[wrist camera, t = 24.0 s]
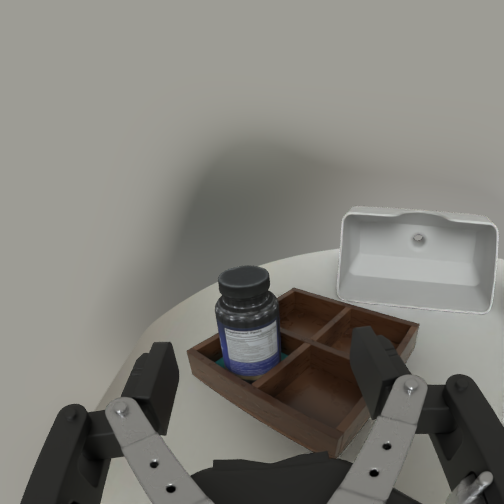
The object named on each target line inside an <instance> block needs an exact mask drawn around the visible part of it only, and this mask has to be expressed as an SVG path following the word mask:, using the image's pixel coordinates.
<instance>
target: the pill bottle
mask: <svg viewBox="0 0 504 504" xmlns="http://www.w3.org/2000/svg"><path fill="white" fill-rule="evenodd" d="M218 283H219V291H220V293H221V294H222V296H221V297H220V298H219V299H218V301H217V303H216V306H215V313H216V319H217V325H218V331H219V338H220V343H221V349H222V354H223V360H224V365H225V369H226V370H227V371H229V372H231V373H232V374H234V375H236V376H237V377H239V378H241V379H242V380H244V381H246V382H247V383H249V384H252V383H254V382H255V381H256V380H258V379H259V378H260V377H262V376H263V375H264V374H266V373H267V372H268V371H270V370H271V369H272V368H273V367H275V366H276V365H277V364H279V363H280V362H281V338H280V318H279V303H278V300H277V298H276V297H275V295H274V294H273V293H272V292H270V291H268V289H269V287H270V278H269V273H268V271H267V270H266V269H264V268H261V267H257V266H239V267H234V268H231V269H228V270H226V271H224V272H223V273H221V274H220V275H219V277H218Z"/></svg>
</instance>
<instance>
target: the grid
mask: <svg viewBox="0 0 504 504" xmlns="http://www.w3.org/2000/svg"><path fill="white" fill-rule="evenodd" d="M277 300H278V303H279V318H280V338H281V362H280V363H279V364H277V365H276V366H275V367H273V368H272V369H271V370H270V371H268V372H267V373H266V374H264V375H263V376H262V377H260V378H259V379H258V380H256V381H255V382H254V383H252V384H249V383H247V382H246V381H244V380H242V379H241V378H239V377H237V376H236V375H234V374H232V373H231V372H229V371H227V370H226V369H225V365H224V360H223V354H222V349H221V343H220V338H219V333H217V334H215V335H214V336H212V337H210V338H208V339H207V340H205V341H203V342H201V343H199V344H198V345H196V346H194V347H193V348H191V349H189V350H187V355H188V358H189V362H190V366H191V370H192V374H193V375H194V376H195V377H196V378H198V379H199V380H200V381H202V382H203V383H205V384H206V385H207V386H209V387H210V388H212V389H213V390H214V391H216V392H217V393H219V394H220V395H222V396H223V397H224V398H226V399H227V400H229V401H230V402H232V403H233V404H235V405H236V406H238V407H239V408H241V409H242V410H244V411H245V412H247V413H248V414H250V415H252V416H253V417H255V418H256V419H258V420H259V421H261V422H263V423H264V424H266V425H268V426H269V427H271V428H272V429H274V430H276V431H277V432H279V433H281V434H283V435H284V436H286V437H288V438H289V439H291V440H293V441H295V442H296V443H298V444H300V445H302V446H304V447H305V448H307V449H309V450H311V451H313V452H315V453H317V452H324V451H328V454H329V458H335V459H337V457H338V456H339V455H340V454H341V453H342V452H343V450H344V449H345V448H346V447H347V445H348V444H349V443H350V442H351V441H352V439H353V438H354V437H355V435H356V434H357V433H358V432H359V430H360V429H361V428H362V426H363V425H364V424H365V422H366V421H367V420H368V418H369V417H370V416H371V415H370V413H369V410H368V408H367V405H366V403H365V400H364V398H363V395H362V393H361V390H360V388H359V386H358V383H357V381H356V378H355V376H354V374H353V371H352V369H351V365H350V348H351V339H352V331H353V328H357V327H363V326H371V328H372V329H373V331H374V333H375V334H376V336H377V335H383V336H384V337H386V338H387V339H389V340H390V341H391V343H392V344H393V346H394V348H395V349H396V351H397V352H398V355H400V357H401V359H402V360H403V362H404V363H406V361H407V360H408V358H409V356H410V355H411V353H412V351H413V349H414V347H415V343H416V338H417V334H418V329H419V324H417V323H414V322H410V321H407V320H403V319H399V318H396V317H392V316H389V315H385V314H382V313H378V312H375V311H371V310H368V309H364V308H361V307H357V306H354V305H351V304H347V303H344V302H340V301H337V300H333V299H330V298H327V297H323V296H320V295H317V294H313V293H310V292H307V291H303V290H300V289H297V288H292V289H291V290H289V291H288V292H286V293H284V294H283V295H281V296H280V297H278V298H277Z"/></svg>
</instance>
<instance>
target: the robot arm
mask: <svg viewBox="0 0 504 504" xmlns="http://www.w3.org/2000/svg"><path fill="white" fill-rule="evenodd" d="M350 365H351V369H352V371H353V374H354V376H355V378H356V381H357V383H358V386H359V388H360V390H361V393H362V395H363V398H364V400H365V403H366V405H367V408H368V410H369V413H370V415H371V418H372V420H373V419H376V421H375V423H374V425H373V427H372V429H371V431H370V433H369V435H368V437H367V439H366V441H365V443H364V445H363V447H362V449H361V450H360V452H359V454H358V456H357V458H356V459H355V461H354V463H351V462H348V461H345V460H341V459H335V458H329V454H328V451H324V452H317V453H310V454H302V455H298V456H295V457H292V458H289V459H285V460H282V461H279V462H275V463H262V462H255V461H248V460H242V459H237V460H213V467H212V468H207V469H204V470H201V471H199V472H196V473H195V474H193V475H191V476H190V475H189V474H188V473H187V472H186V470H185V469H184V468H183V466H182V465H181V464H180V463H179V461H178V460H177V459H176V457H175V456H174V454H173V453H172V452H171V450H170V449H169V448H168V446H167V445H166V443H165V442H164V441H163V439H162V438H161V436H160V435H166V433H167V429H168V425H169V420H170V416H171V412H172V408H173V403H174V399H175V395H176V391H177V387H178V383H179V369H178V365H177V361H176V358H175V354H174V350H173V346H172V344H171V342H154V343H153V345H152V347H151V350H150V352H149V353H143V354H142V355H141V356H140V357H139V358H138V359H137V360H136V362H135V365H134V367H133V370H132V371H131V374H130V376H129V378H128V381H127V383H126V385H125V388H124V390H123V392H122V395H121V397H120V398H117V399H114V400H112V401H111V402H110V403H109V404H108V405H107V406H106V409H105V410H102V411H95V412H87V411H86V409H85V408H84V407H83V406H82V405H79V404H71V405H68V406H65V407H64V408H62V410H60V412H59V413H58V415H57V417H56V419H55V421H54V424H53V426H52V428H51V430H50V432H49V434H48V437H47V439H46V441H45V443H44V446H43V448H42V450H41V453H40V455H39V457H38V459H37V462H36V465H35V467H34V469H33V472H32V474H31V477H30V479H29V482H28V485H27V487H26V490H25V492H24V495H23V498H22V501H21V503H20V504H100V502H101V498H102V494H103V489H104V485H105V481H106V477H107V473H108V469H109V465H110V461H111V458H116V457H123V456H125V458H126V460H127V461H128V463H129V465H130V467H131V469H132V470H133V472H134V474H135V476H136V477H137V479H138V481H139V483H140V484H141V486H142V487H143V489H144V491H145V492H146V494H147V496H148V497H149V499H150V500H151V502H152V503H153V504H421V503H420V502H418V501H416V500H414V499H412V498H411V497H409V496H407V495H405V494H404V493H402V492H400V491H398V490H397V489H395V488H393V486H394V484H395V482H396V480H397V478H398V475H399V473H400V471H401V468H402V466H403V463H404V461H405V458H406V456H407V453H408V451H409V448H410V445H411V443H412V440H413V437H414V434H429V436H430V439H431V441H432V443H433V446H434V448H435V451H436V453H437V455H438V458H439V460H440V463H441V465H442V468H443V470H444V473H445V476H446V478H447V481H448V483H449V486H450V489H451V494H450V495H449V496H448V498H447V500H446V504H504V427H503V425H502V424H501V422H500V420H499V419H498V417H497V416H496V414H495V412H494V411H493V409H492V408H491V406H490V404H489V403H488V401H487V400H486V398H485V397H484V395H483V394H482V392H481V391H480V389H479V388H478V386H477V385H476V383H475V382H474V381H473V379H471V378H470V377H468V376H466V375H462V374H456V375H453V376H451V377H449V378H448V380H447V381H446V384H445V385H427V383H426V382H425V381H424V380H423V379H422V378H421V377H419V376H416V375H411V373H410V371H409V370H408V368H407V367H406V365H405V363H404V362H403V360H402V359H401V357H400V355H398V352H397V351H396V349H395V348H394V346H393V344H392V343H391V341H390V340H389V339H387V338H386V337H384V336H383V335H377V336H376V334H375V333H374V331H373V329H372V328H371V326H363V327H357V328H353V331H352V339H351V348H350Z"/></svg>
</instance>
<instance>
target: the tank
mask: <svg viewBox="0 0 504 504" xmlns="http://www.w3.org/2000/svg"><path fill="white" fill-rule="evenodd" d="M416 235H422V236H423V237H422V239H421V240H418V241H417V240H415V239H414V236H416ZM498 238H499V233H498V229H497V227H496V226H495V225H494V224H493V223H492V222H491V220H490V219H489V218H487V217H486V216H483V215H473V214H463V213H452V212H441V211H428V210H415V209H401V208H385V207H366V206H353V207H351V208H350V209H349V211H348V212H347V213H346V214H345V215H344V217H343V219H342V226H341V242H340V254H339V266H338V277H337V287H336V292H337V295H338V297H339V298H340V299H341V300H344V301H351V302H360V303H368V304H377V305H386V306H396V307H406V308H416V309H426V310H437V311H448V312H459V313H472V314H486V313H487V312H489V310H490V309H491V307H492V303H493V296H494V288H495V280H496V269H497V257H498Z"/></svg>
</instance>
